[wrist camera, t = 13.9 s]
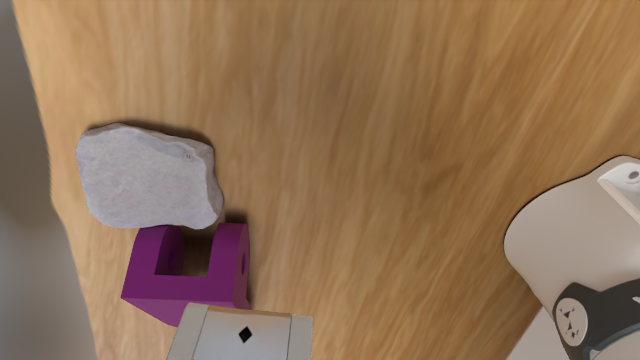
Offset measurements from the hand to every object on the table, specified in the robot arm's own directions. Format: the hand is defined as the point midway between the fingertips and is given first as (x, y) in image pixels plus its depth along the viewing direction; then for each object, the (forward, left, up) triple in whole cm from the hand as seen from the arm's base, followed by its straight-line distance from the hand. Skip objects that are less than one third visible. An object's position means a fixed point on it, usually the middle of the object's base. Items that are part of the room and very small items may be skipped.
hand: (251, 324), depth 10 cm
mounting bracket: (+8, +28, -26) cm, 40 cm away
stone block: (+12, +15, -26) cm, 33 cm away
